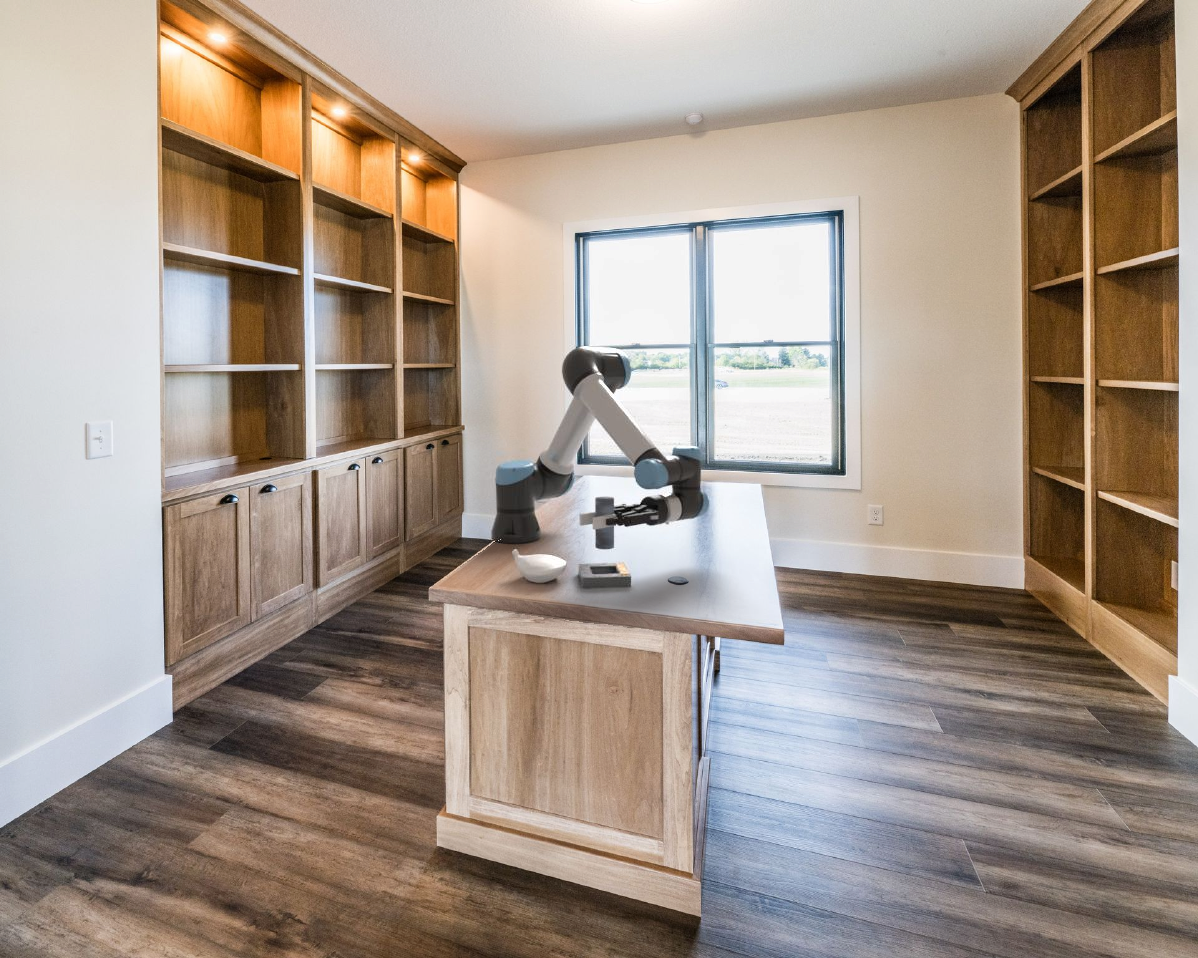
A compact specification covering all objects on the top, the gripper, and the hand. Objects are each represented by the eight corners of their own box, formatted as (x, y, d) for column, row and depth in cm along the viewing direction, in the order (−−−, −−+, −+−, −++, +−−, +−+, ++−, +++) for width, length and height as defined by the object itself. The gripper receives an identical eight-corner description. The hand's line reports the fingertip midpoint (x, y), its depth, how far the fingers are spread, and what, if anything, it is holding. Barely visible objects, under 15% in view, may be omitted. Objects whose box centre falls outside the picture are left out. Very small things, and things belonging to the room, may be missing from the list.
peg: (591, 546, 157) (591, 498, 155) (606, 543, 159) (606, 495, 158) (603, 550, 153) (603, 500, 151) (617, 547, 156) (617, 498, 154)
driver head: (522, 540, 164) (555, 528, 156) (543, 575, 166) (577, 565, 158) (498, 562, 156) (531, 551, 148) (520, 598, 158) (554, 589, 150)
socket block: (582, 588, 151) (582, 577, 151) (578, 573, 163) (578, 563, 162) (631, 586, 153) (631, 575, 152) (623, 572, 164) (623, 561, 164)
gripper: (683, 529, 160) (610, 544, 146) (636, 518, 174) (565, 530, 159) (684, 499, 159) (610, 511, 145) (637, 490, 172) (565, 500, 158)
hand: (587, 521), depth 152 cm, fingers closed on peg, 4 cm apart
